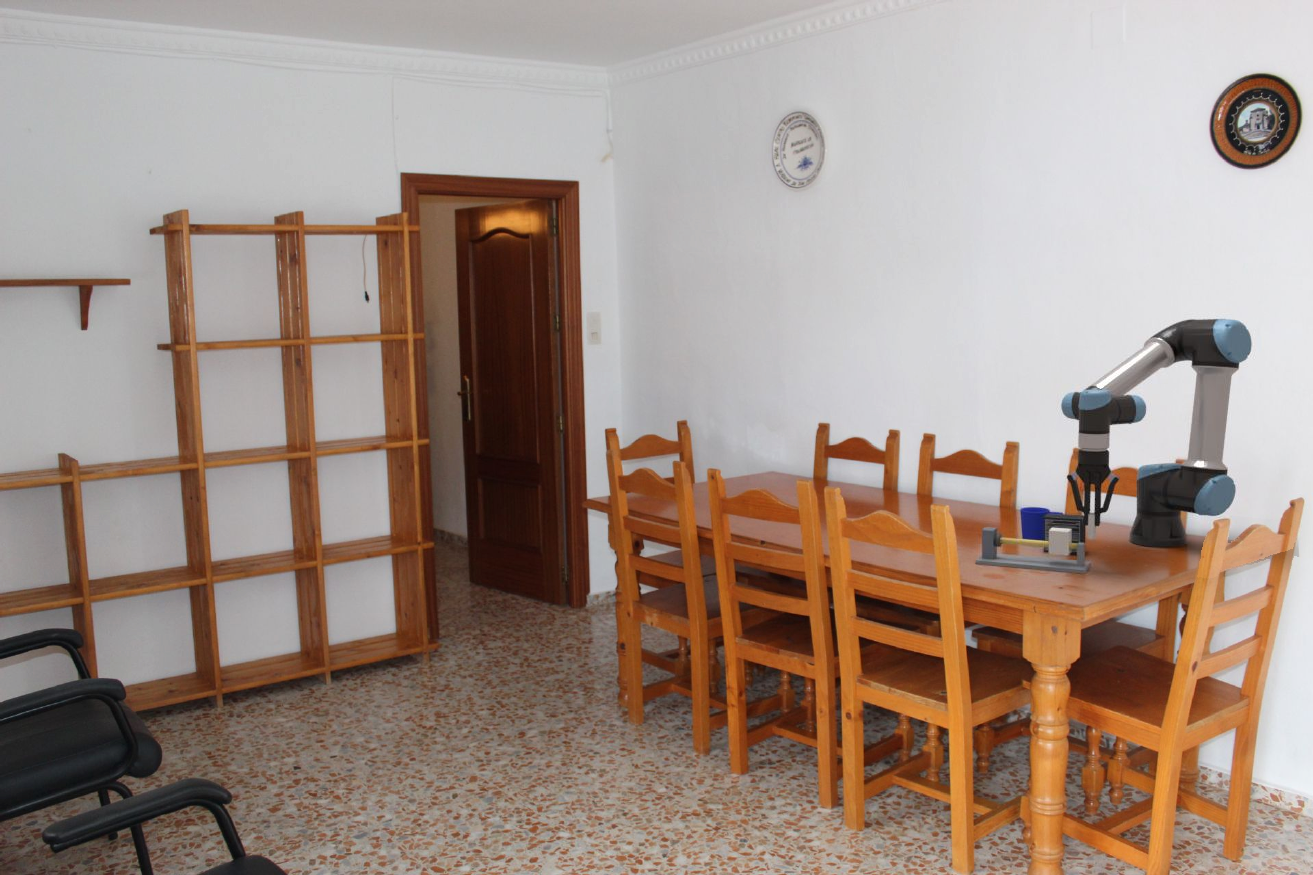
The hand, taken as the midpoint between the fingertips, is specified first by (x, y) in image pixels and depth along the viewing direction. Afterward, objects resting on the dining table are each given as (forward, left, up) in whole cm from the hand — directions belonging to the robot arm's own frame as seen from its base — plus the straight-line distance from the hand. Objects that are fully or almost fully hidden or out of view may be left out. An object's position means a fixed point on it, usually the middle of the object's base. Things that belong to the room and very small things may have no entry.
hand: (1091, 537), depth 277 cm
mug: (+18, -28, -9) cm, 34 cm away
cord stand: (+15, 0, -9) cm, 17 cm away
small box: (+10, -19, -9) cm, 23 cm away
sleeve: (+8, 0, -5) cm, 9 cm away
